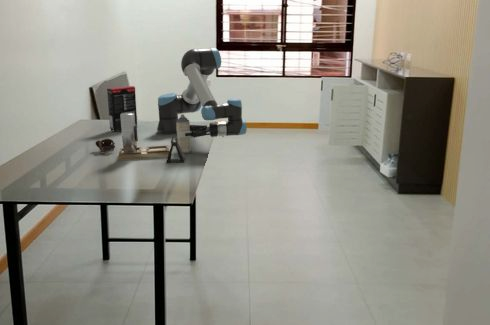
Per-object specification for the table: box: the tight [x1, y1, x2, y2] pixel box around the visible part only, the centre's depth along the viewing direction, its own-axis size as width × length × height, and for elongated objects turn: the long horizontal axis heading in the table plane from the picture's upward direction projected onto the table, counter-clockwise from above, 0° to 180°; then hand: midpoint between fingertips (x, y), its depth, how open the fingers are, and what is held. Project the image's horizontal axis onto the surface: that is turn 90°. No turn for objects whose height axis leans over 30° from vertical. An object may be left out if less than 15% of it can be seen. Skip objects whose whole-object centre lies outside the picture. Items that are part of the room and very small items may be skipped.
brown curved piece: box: [95, 138, 116, 153], centre depth 282 cm, size 12×10×8 cm
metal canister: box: [120, 113, 139, 153], centre depth 268 cm, size 7×8×20 cm
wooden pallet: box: [117, 144, 170, 161], centre depth 272 cm, size 11×26×4 cm, turn 101°
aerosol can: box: [176, 113, 192, 154], centre depth 276 cm, size 7×7×20 cm
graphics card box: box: [106, 85, 138, 132], centre depth 334 cm, size 17×7×27 cm, turn 133°
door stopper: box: [165, 136, 186, 164], centre depth 259 cm, size 9×6×12 cm, turn 93°
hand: (177, 132), depth 275 cm, fingers open, 13 cm apart
